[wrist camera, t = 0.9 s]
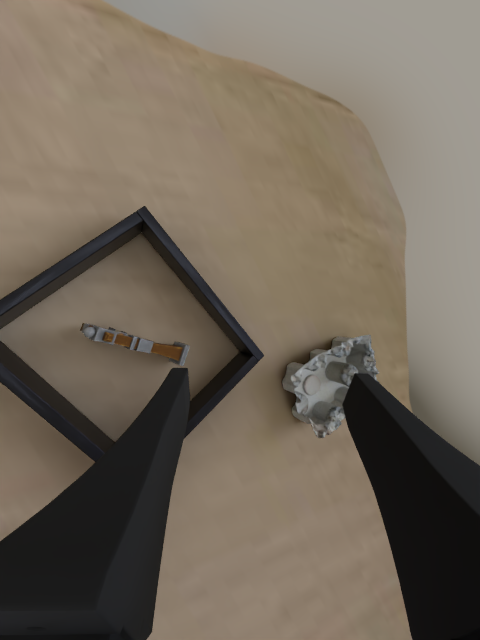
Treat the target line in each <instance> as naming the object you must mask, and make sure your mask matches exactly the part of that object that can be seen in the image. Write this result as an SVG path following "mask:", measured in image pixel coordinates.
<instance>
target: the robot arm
mask: <svg viewBox="0 0 480 640" xmlns="http://www.w3.org/2000/svg"><path fill="white" fill-rule="evenodd" d="M189 406H190V392H189V378H188V368H172V369H171V370H170V372H169V374H168V375H167V377H166V379H165V380H164V382H163V383H162V385H161V386H160V388H159V389H158V391H157V392H156V393H155V395H154V396H153V398H152V399H151V400H150V402H149V403H148V404H147V406H146V407H145V408H144V410H143V411H142V412H141V413H140V415H139V416H138V417H137V418H136V419H135V421H134V422H133V423H132V424H131V425H130V427H129V428H128V429H127V430H126V431H125V432H124V433H123V435H122V436H121V437H120V438H119V439H118V440H117V441H116V442H115V443H114V444H113V445H112V446H111V447H110V449H109V450H108V451H107V452H106V453H105V454H104V455H103V456H102V457H100V458H99V459H98V460H97V461H96V462H95V463H94V464H93V465H92V466H91V467H90V468H89V469H88V470H87V471H86V472H85V473H84V474H83V475H82V476H80V477H79V478H78V479H77V480H76V481H75V482H74V483H72V484H71V485H70V486H69V487H68V488H67V489H65V490H64V491H63V492H62V493H61V494H60V495H58V496H57V497H56V498H55V499H54V500H53V501H51V502H50V503H49V504H48V505H47V506H45V507H44V508H43V509H42V510H40V511H39V512H38V513H36V514H35V515H34V516H33V517H31V518H30V519H29V520H27V521H26V522H25V523H24V524H22V525H21V526H20V527H18V528H17V529H16V530H15V531H13V532H12V533H11V534H9V535H8V536H7V537H5V538H4V539H3V540H2V541H0V640H146V639H147V638H148V637H149V635H150V634H151V632H152V626H153V618H154V610H155V602H156V594H157V586H158V579H159V571H160V564H161V557H162V550H163V543H164V536H165V529H166V522H167V515H168V509H169V503H170V496H171V490H172V485H173V480H174V476H175V472H176V467H177V463H178V459H179V455H180V451H181V447H182V443H183V439H184V435H185V431H186V426H187V421H188V414H189ZM342 406H343V410H344V414H345V418H346V421H347V425H348V428H349V431H350V433H351V436H352V438H353V441H354V443H355V446H356V448H357V450H358V453H359V455H360V458H361V460H362V462H363V465H364V467H365V470H366V472H367V474H368V477H369V479H370V482H371V485H372V487H373V490H374V493H375V496H376V499H377V502H378V506H379V509H380V512H381V515H382V518H383V522H384V525H385V529H386V532H387V536H388V539H389V543H390V546H391V550H392V554H393V558H394V562H395V566H396V570H397V574H398V578H399V582H400V586H401V591H402V595H403V599H404V604H405V608H406V613H407V617H408V622H409V627H410V632H411V636H412V639H413V640H480V466H479V465H478V464H477V463H475V462H474V461H472V460H471V459H469V458H468V457H467V456H465V455H464V454H463V453H461V452H460V451H458V450H457V449H456V448H454V447H453V446H452V445H450V444H449V443H448V442H446V441H445V440H444V439H443V438H441V437H440V436H439V435H438V434H436V433H435V432H434V431H433V430H431V429H430V428H429V427H428V426H427V425H425V424H424V423H423V422H422V421H421V420H420V419H418V418H417V417H416V416H415V415H414V414H413V413H411V412H410V411H409V410H408V409H407V408H406V407H405V406H404V405H402V404H401V403H400V402H399V401H398V400H397V399H396V398H395V397H394V396H393V395H392V394H390V393H389V392H388V391H387V390H386V389H385V388H384V387H383V386H382V385H381V384H380V383H378V382H377V381H376V380H375V379H374V378H373V377H372V376H371V375H369V374H368V373H354V376H353V378H352V381H351V383H350V386H349V388H348V391H347V393H346V396H345V399H344V401H343V404H342Z"/></svg>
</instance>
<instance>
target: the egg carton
mask: <svg viewBox="0 0 480 640" xmlns="http://www.w3.org/2000/svg"><path fill="white" fill-rule="evenodd" d="M375 362H376V361H375V359H374V351H373V350H372V349H371V335H365V336H360V337H356V338H346V337H337V338H335V339H333V341H332V348H331V349H330V350H321V349H315V350H313V351H311V352H310V360H309V362H308V363H306V364H305V365H303V364H299V363H295V362H292V363H290V364H289V365H287V371H286V375H285V377H284V379H283V381H282V384H283V388H284V389H285V390H287V391H290V392H292V393H294V394H296V397H297V399H296V403H295V405H294V406H293V408H292V412H293V416H294V417H296V418H297V419H299V420H301V421H303V422H305V423H307V424H312V427H313V430H314V432H315V434H316V436H317V437H318V438H324V437H325V435H329V434H331V433H332V431H334V430H336V429H337V428H338V427H339V425H341V422H340V420H342V419H344V418H345V414H344V410H343V406H342V404H343V401H344V399H345V396H346V393H347V391H348V388H349V386H350V383H351V381H352V378H353V376H354V373H368V374H369V375H371V376H372V377H373V378H374V379H375V380H376V374H379V371H378V370H377V369H376V367H375V365H376V363H375ZM376 381H377V380H376ZM377 382H378V381H377ZM378 383H379V382H378Z"/></svg>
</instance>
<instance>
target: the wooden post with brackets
mask: <svg viewBox="0 0 480 640" xmlns="http://www.w3.org/2000/svg"><path fill="white" fill-rule="evenodd" d="M80 331H82V333H84V335H85V336H86V337H88V338H89V339H91V340H93V341H100V342H104V343H108V344H111V345H113V343H115V344H119V345H123V346H124V347H126V348H128V349H131V350H135V351H142V352H147V353H149V354H150V352H152V353H157V354H160V355H163V356H166V357H170V358H169V361H172V362H174V363H176V364H179V365H182V366H183V365H184V362H185V359H186V356H187V353H188V350H189V345H186V344H183V343H180V342H175V343H174V345H166V344H158V343H154V342H153V341H150V340H145V339H141V338H139V337H136V336H133V335H127V333H125V332H122V331H121V332H119V331H115V329H113V328H110V327H109V329H108V330H107V329H104V328H100V327H98V326H95V325H90V324H85V323H83V324H82V327H81V329H80Z"/></svg>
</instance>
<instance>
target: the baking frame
mask: <svg viewBox="0 0 480 640" xmlns="http://www.w3.org/2000/svg"><path fill="white" fill-rule="evenodd" d="M141 232H142V233H143V235H144V236H145V237H146V238H147V239H148V241H149V242H150V243H151V244H152V246H153V247H154V248H155V249H156V250H157V252H158V253H159V254H160V255H161V256H162V258H163V259H164V260H165V261H166V262H167V264H168V265H169V266H170V267H171V268H172V270H173V271H174V272H175V273H176V275H177V276H178V277H179V278H180V279H181V281H182V282H183V283H184V284H185V285H186V287H187V288H188V289H189V290H190V291H191V293H192V294H193V295H194V296H195V298H196V299H197V300H198V301H199V302H200V304H201V305H202V306H203V307H204V308H205V310H206V311H207V312H208V313H209V314H210V316H211V317H212V318H213V319H214V321H215V322H216V323H217V324H218V325H219V327H220V328H221V329H222V330H223V331H224V333H225V334H226V335H227V336H228V337H229V339H230V340H231V341H232V342H233V344H234V345H235V346H236V347H237V348H238V350H239V351H240V353H239V354H238V355H237V356H236V357H235V358H234V359H233V360H232V361H231V362H230V363H228V364H227V365H226V366H225V367H224V368H223V369H222V370H221V371H220V372H219V373H218V374H217V375H216V376H215V377H214V378H213V379H212V380H211V381H210V382H209V383H208V384H207V385H206V386H205V387H204V388H203V389H202V390H201V391H200V392H199V393H198V394H197V395H196V396H195V397H194V398H193V399H192V400H191V401H190V406H189V414H188V421H187V426H186V431H185V435H184V438H185V437H186V436H187V435H188V434H189V433H190V432H191V431H192V430H193V429H194V428H195V427H196V426H197V425H198V424H199V423H200V422H201V421H202V420H203V419H204V418H205V417H206V416H207V414H208V413H209V412H210V411H211V410H212V409H213V408H214V407H215V406H216V405H217V404H218V403H219V402H220V401H221V400H222V399H223V398H224V397H225V396H226V395H227V394H228V393H229V392H230V391H231V390H232V389H233V388H234V387H235V385H236V384H237V383H238V382H239V381H240V380H241V379H242V378H243V377H244V376H245V375H246V374H247V373H248V372H249V371H250V370H251V369H252V368H253V367H254V366H255V365H256V364H257V363H258V361H260V359H261V358H262V357H263V356H264V355H263V353H262V352H261V351H260V350H259V348H258V347H257V346H256V345H255V343H254V342H253V341H252V340H251V338H250V337H249V336H248V335H247V333H246V332H245V331H244V330H243V328H242V327H241V326H240V325H239V323H238V322H237V321H236V319H235V318H234V317H233V316H232V314H231V313H230V312H229V311H228V309H227V308H226V307H225V306H224V304H223V303H222V302H221V301H220V299H219V298H218V297H217V296H216V294H215V293H214V292H213V291H212V289H211V288H210V287H209V286H208V284H207V283H206V282H205V281H204V279H203V278H202V277H201V276H200V274H199V273H198V272H197V271H196V269H195V268H194V267H193V266H192V264H191V263H190V262H189V261H188V259H187V258H186V257H185V256H184V254H183V253H182V252H181V251H180V249H179V248H178V247H177V246H176V244H175V243H174V242H173V241H172V239H171V238H170V237H169V236H168V234H167V233H166V232H165V231H164V229H163V228H162V227H161V226H160V224H159V223H158V222H157V221H156V219H155V218H154V217H153V216H152V214H151V213H150V212H149V211H148V209H147V208H146V207H145V206H144V207H142V208H141V209H139V210H137V211H136V212H134V213H133V214H131V215H130V216H128V217H127V218H125V219H124V220H122V221H121V222H119V223H118V224H116V225H115V226H113V227H111V228H110V229H108V230H107V231H105V232H104V233H102V234H101V235H99V236H98V237H96V238H95V239H93V240H91V241H90V242H88V243H87V244H85V245H84V246H82V247H81V248H79V249H78V250H76V251H75V252H73V253H71V254H70V255H68V256H67V257H65V258H64V259H62V260H61V261H59V262H58V263H56V264H55V265H53V266H51V267H50V268H48V269H47V270H45V271H44V272H42V273H41V274H39V275H38V276H36V277H35V278H33V279H31V280H30V281H28V282H27V283H25V284H24V285H22V286H21V287H19V288H18V289H16V290H15V291H13V292H11V293H10V294H8V295H7V296H5V297H4V298H2V299H1V300H0V329H1V328H3V327H4V326H5V325H7V324H8V323H10V322H11V321H13V320H14V319H16V318H17V317H19V316H20V315H22V314H23V313H24V312H26V311H27V310H29V309H30V308H32V307H33V306H35V305H36V304H38V303H39V302H41V301H42V300H43V299H45V298H46V297H48V296H49V295H51V294H52V293H54V292H55V291H57V290H58V289H60V288H61V287H62V286H64V285H65V284H67V283H68V282H70V281H71V280H73V279H74V278H76V277H77V276H78V275H80V274H81V273H83V272H84V271H86V270H87V269H89V268H90V267H92V266H93V265H95V264H96V263H97V262H99V261H100V260H102V259H103V258H105V257H106V256H108V255H109V254H111V253H112V252H114V251H115V250H116V249H118V248H119V247H121V246H122V245H124V244H125V243H127V242H128V241H130V240H131V239H133V238H134V237H135V236H137V235H138V234H140V233H141ZM0 382H1V383H2V384H3V385H5V386H6V387H7V388H8V389H9V390H11V391H12V392H13V393H14V394H15V395H16V396H18V397H19V398H20V399H21V400H22V401H24V402H25V403H26V404H27V405H28V406H30V407H31V408H32V409H33V410H34V411H35V412H37V413H38V414H39V415H40V416H41V417H43V418H44V419H45V420H46V421H47V422H49V423H50V424H51V425H52V426H53V427H54V428H56V429H57V430H58V431H59V432H60V433H62V434H63V435H64V436H65V437H66V438H68V439H69V440H70V441H71V442H72V443H73V444H75V445H76V446H77V447H78V448H79V449H81V450H82V451H83V452H84V453H85V454H87V455H88V456H89V457H90V458H91V459H92V460H94V461H95V462H96V461H97V460H98V459H99V458H100V457H102V456H103V455H104V454H105V453H106V452H107V451H108V450H109V449H110V447H111V446H112V445H113V444H114V443H115V442H113V441H112V440H111V439H110V438H109V437H108V436H107V435H106V434H104V433H103V432H102V431H101V430H100V429H99V428H98V427H97V426H95V425H94V424H93V423H92V422H91V421H90V420H89V419H88V418H86V417H85V416H84V415H83V414H82V413H81V412H80V411H79V410H77V409H76V408H75V407H74V406H73V405H72V404H71V403H70V402H68V401H67V400H66V399H65V398H64V397H63V396H62V395H61V394H59V393H58V392H57V391H56V390H55V389H54V388H53V387H52V386H50V385H49V384H48V383H47V382H46V381H45V380H44V379H43V378H41V377H40V376H39V375H38V374H37V373H36V372H35V371H34V370H32V369H31V368H30V367H29V366H28V365H27V364H26V363H25V362H23V361H22V360H21V359H20V358H19V357H18V356H17V355H16V354H14V353H13V352H12V351H11V350H10V349H9V348H8V347H7V346H5V345H4V344H3V343H2V342H1V341H0Z"/></svg>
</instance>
